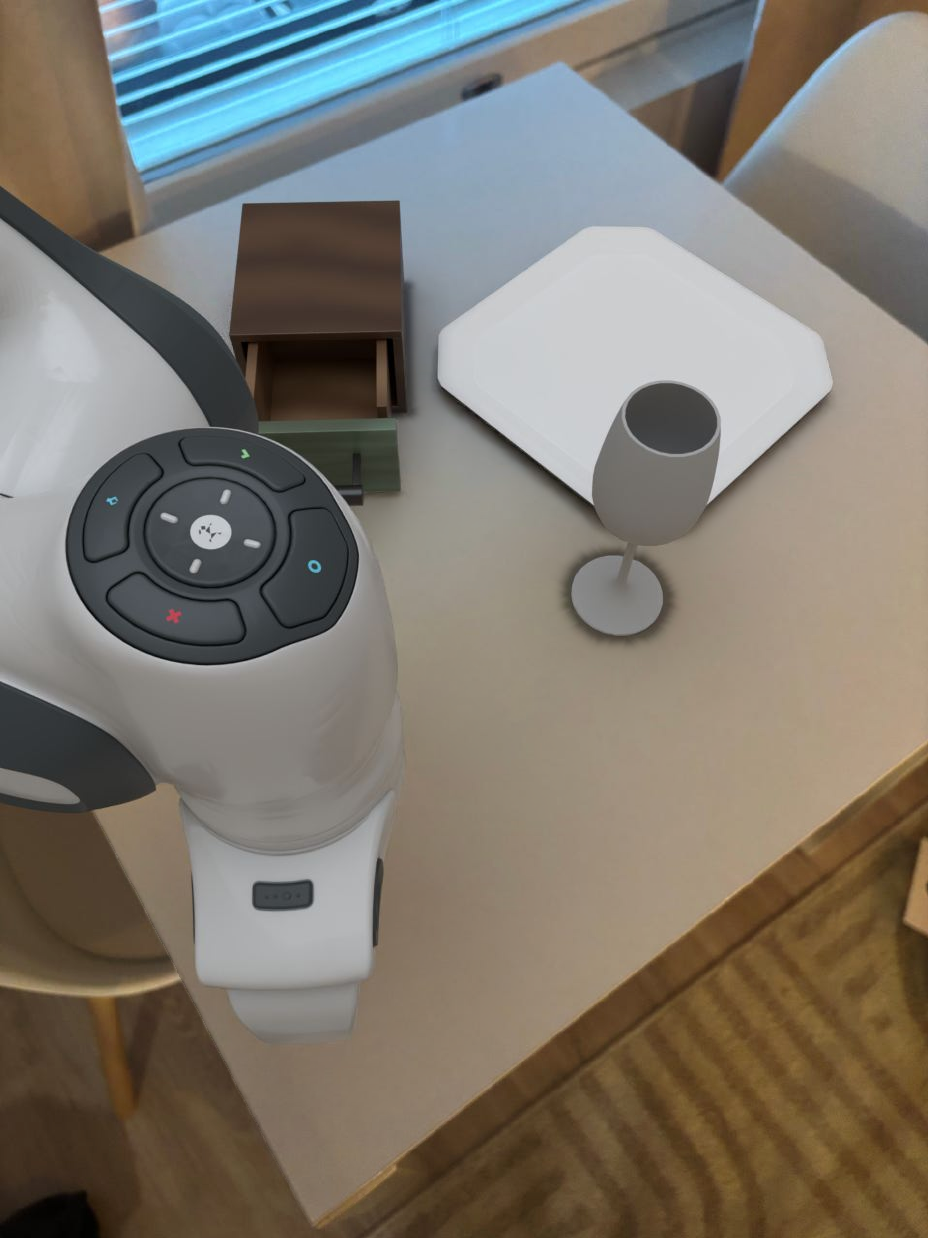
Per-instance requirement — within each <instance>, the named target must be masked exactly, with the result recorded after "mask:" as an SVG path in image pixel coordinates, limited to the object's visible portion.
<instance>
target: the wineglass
mask: <svg viewBox="0 0 928 1238" xmlns="http://www.w3.org/2000/svg"><path fill="white" fill-rule="evenodd" d="M720 438H721V417H720V414H719V411H718V408H717V407H716V405H715V404H714V402H713V401H712V400H711V399H710V398H709V397H708V396H707V395H706V394H705V393H704V392H702V391H700V390H699V389H697V388H695V387H693V386H691V385H688V384H686V383H682V382H677V381H670V380H660V381H655V382H649V383H647V384H644V385H642V386H640V387H638V388H637V389H635V390H634V391H633V392H631V393H630V395H629V396H628V397H627V399H626V400H625V401H624V403H623V404H622V406H621V408H620V409H619V411H618V413H617V415H616V417H615V419H614V421H613V423H612V425H611V427H610V429H609V431H608V434H607V436H606V438H605V441H604V443H603V446H602V448H601V451H600V453H599V456H598V459H597V461H596V464H595V467H594V472H593V481H592V499H593V503H594V507H595V508H594V507H593V508H594V509H595V512H596V513H597V516H598V517H599V520H600V521H601V523H602V525H603V526H604V527H605V528H606V529H607V531H609V533H610V534H612V535H614V536H615V537H616V538H617V539H619V540H621V541H624V542H626V547H625V550H624V554H623V555H604V556H600V557H597V558H594V559H592V560H590V561H588V562H587V563H585V564H584V565H583V566H582V567H580V568H579V570H578V571H577V573H576V574H575V576H574V578H573V581H572V584H571V593H570V597H571V601H572V605H573V608H574V610H575V612H576V614H577V615H578V616H579V618H580V619H581V620H582V621H583V622H584V623H585V624H586V625H587V626H589V627H590V628H591V629H593V630H595V631H598V632H599V633H602V634H605V635H610V636H614V637H627V636H631V635H637V634H639V633H642V632H643V631H645V630H647V629H648V628H649V627H650V626H652V625H653V624H654V623H655V622H656V620H657V619H658V617H659V615H660V613H661V611H662V608H663V605H664V592H663V589H662V585H661V583H660V581H659V579H658V578H657V576H656V575H655V573H654V572H653V571H652V570H651V569H650V568H649V567H647V566H646V565H645V564H643V563H642V562H641V561H639V560H636V559H634V557H635V554H636V551H637V548H638V546H641V547H658V546H663V545H668V544H669V543H671V542H673V541H676V540H678V539H679V538H681V537H683V536H684V535H685V534H687V533H688V532H689V531H690V530H691V529H693V528H694V526H695V525H696V523H697V522H698V521H699V519H700V518H701V517H702V514H703V512H705V509H706V508H707V506H706V505H707V503H708V500H709V497H710V494H711V490H712V486H713V482H714V478H715V473H716V468H717V463H718V457H719V449H720Z"/></svg>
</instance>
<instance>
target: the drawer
mask: <svg viewBox="0 0 928 1238" xmlns="http://www.w3.org/2000/svg"><path fill="white" fill-rule="evenodd" d="M245 379H246V381H247V384H248V386H249V389H250V391H251V394H252V397H253V399H254V402H255V406H256V410H257V415H258V421H259V433H258V435H260V436H263V437H266V438H268V439H271V440H273V441H276V442H278V443H280V444H282V445H284V446H286V447H287V448H289V449H291V450H293V451H294V452H296V453H297V454H299V455H300V456H302V457H303V458H304V459H306V460H307V461H308V462H309V463H311V464H312V465H313V466H314V467H315V468H316V469H317V470H318V471H320V472H321V473H322V474H323V475H324V476H325V478H326V479H327V480H328V481H329V482H330V483H331V484H332V485H333V486H334V487H335V489H336V490H337V491H338V492H339V493H340V495H341V496H342V497H343V498H344V500H345V501H346V502H347V504H348V505H349V507H363V506H365V505H364V504H365V493H392V492H393V493H395V492H397V493H398V492H402V477H401V465H400V464H401V463H400V451H399V450H400V449H399V439H398V437H399V436H398V425H397V418H396V417H393V416H392V414H393V413H392V409H391V352H390V339H389V338H388V339H345V340H302V341H260V342H248V354H247V365H246V376H245Z"/></svg>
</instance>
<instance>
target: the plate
mask: <svg viewBox="0 0 928 1238" xmlns="http://www.w3.org/2000/svg"><path fill="white" fill-rule="evenodd" d="M829 363H830V362H829V359H828V356H827V352H826V347H825V343H824V339H823V338H822V337H821V336H820V335H819V334H818V332H816V331H815V330H814V329H812V328H810V327H809V326H807V325H806V324H803V323H802V322H801V321H799V320H797V319H796V318H794V317H793V316H791V315H789V314H788V313H786V312H785V311H783V310H781V309H780V308H778V307H777V306H775V305H774V304H773V303H771V302H769V301H767V300H766V299H764V298H763V297H761V296H760V295H758V294H757V293H755V292H753V291H752V290H750V289H748V288H747V287H745V286H743V285H742V284H740V283H739V282H738V281H736V280H734V279H733V278H731V277H730V276H728V275H727V274H725V273H723V272H722V271H721V270H719V269H717V268H715V267H714V266H712V265H711V264H709V263H707V262H706V261H705V260H703V259H701V258H700V257H698V256H696V255H695V254H694V253H691V252H690V251H688V250H687V249H686V248H684V247H683V246H681V245H679V244H677V243H676V242H674V241H673V240H672V239H670V238H668V237H666V236H665V235H664V234H661V233H660V232H659V231H657V230H655V229H654V228H651V227H647V226H609V225H608V226H602V225H592V226H589V227H585V228H583V229H581V230H580V231H578V232H577V233H576V234H574V235H573V236H571V237H570V238H568V239H567V240H566V241H564V242H563V243H561V244H560V245H558V246H557V247H555V248H554V249H553V250H552V251H549V252H548V253H547V254H546V255H545V256H543V257H542V258H540V259H538V260H537V261H536V262H535V263H533V264H532V265H531V266H529V267H527V268H526V269H525V270H523V271H522V272H520V273H518V274H517V275H516V276H514V277H513V278H511V280H509V281H507V282H506V283H505V284H503V285H502V286H501V287H499V288H498V289H496V290H495V291H493V292H491V294H489V295H488V296H487V297H485V298H484V299H482V300H481V301H479V302H478V303H477V304H475V305H474V306H472V307H471V308H470V309H468V310H467V311H465V312H464V313H463V314H461V315H459V316H458V317H457V318H456V319H454V320H452V321H451V322H450V323H448V324H447V325H445V326H444V327H443V328H442V329H440V332H439V334H438V335H437V364H436V365H437V366H436V368H437V370H436V381H437V383H438V385H439V386H440V388H441V390H443V391H444V392H445V393H447V394H448V395H449V396H450V397H452V398H453V399H454V400H455V401H456V402H458V403H460V404H461V405H462V406H464V407H465V408H466V409H467V410H469V411H470V412H471V413H472V414H474V415H475V416H476V417H477V418H478V419H480V420H481V421H483V422H484V423H485V424H487V425H488V427H490V428H492V430H494V431H495V432H496V433H498V434H499V435H500V436H502V437H503V438H504V439H505V440H507V441H508V443H509V442H510V443H511V444H512V445H513V446H514V447H516V448H517V449H518V450H519V451H521V452H522V453H524V455H526V456H528V458H530V459H531V460H533V462H535V464H538V465H539V466H540V467H541V468H542V469H544V470H545V471H546V472H548V473H549V474H550V475H552V477H554V478H555V479H556V480H558V481H559V482H560V483H561V484H563V485H564V486H566V487H567V488H568V489H569V490H570V491H572V492H573V493H574V494H576V495H577V496H578V497H579V498H581V499H582V500H583V501H584V502H586V503H587V504H588V505H590V506H591V507H592V508H593V509H595V507H594V503H593V499H592V481H593V472H594V467H595V464H596V461H597V459H598V456H599V453H600V451H601V448H602V446H603V443H604V441H605V438H606V436H607V434H608V431H609V429H610V427H611V425H612V423H613V421H614V419H615V417H616V415H617V413H618V411H619V409H620V408H621V406H622V404H623V403H624V401H625V400H626V399H627V397H628V396H629V395H630V393H631V392H633V391H634V390H635V389H637V388H638V387H640V386H642V385H644V384H647V383H649V382H655V381H660V380H670V381H677V382H682V383H686V384H688V385H691V386H693V387H695V388H697V389H699V390H700V391H702V392H704V393H705V394H706V395H707V396H708V397H709V398H710V399H711V400H712V401H713V402H714V404H715V405H716V407H717V408H718V411H719V414H720V417H721V438H720V449H719V457H718V463H717V468H716V473H715V478H714V482H713V486H712V490H711V494H710V497H709V500H708V503H707V505H706V507H708V506H709V505H710V504H711V503H712V502H713V501H715V500H716V499H717V497H719V496H720V495H721V494H722V493H723V492H724V491H725V490H727V488H728V487H729V486H731V485H732V483H734V482H735V481H736V480H737V479H738V478H739V477H740V476H742V474H743V473H745V472H746V471H747V470H748V469H749V468H750V467H751V466H752V465H753V464H754V463H756V462H757V461H758V460H759V459H760V458H761V457H762V456H763V455H764V454H765V453H766V452H767V451H768V450H770V449H771V448H772V447H773V446H774V445H775V444H776V443H777V442H778V441H780V439H782V438H783V437H784V436H785V435H786V434H787V433H788V432H789V431H790V430H792V428H794V426H796V425H797V424H798V423H799V422H800V421H801V420H802V419H803V418H805V416H806V415H807V414H808V413H810V412H811V411H812V410H813V409H814V408H815V407H816V406H817V405H818V404H819V403H821V401H823V400H824V399H825V398H826V397H827V396H828V395H830V393H831V392H832V389H833V386H834V381H833V376H832V373H831V368H830V364H829Z"/></svg>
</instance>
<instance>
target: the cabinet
mask: <svg viewBox="0 0 928 1238" xmlns="http://www.w3.org/2000/svg"><path fill="white" fill-rule="evenodd" d="M239 223H240V225H239V234H238V242H237V254H236V262H235V272H234V273H235V274H234V284H233V291H232V292H233V294H232V303H231V310H230V311H231V312H230V322H229V332H228V337H229V340H230V344H231V348H232V351H233V355H234V357H235V359H236V361H237V362H238V364H239V366H240V368H241V371H242V373H243V375H244V377H245V376H246V365H247V354H248V342H260V341H302V340H345V339H388V338H389V339H390V352H391V409H392V414H394V413H395V414H396V413H397V414H399V413H407V412H408V396H407V395H408V394H407V393H408V389H407V347H406V345H407V343H406V341H407V339H406V297H405V296H406V295H405V290H406V289H405V273H404V271H405V269H404V253H403V252H404V251H403V235H402V215H401V201H400V199H399V200H398V199H397V200H350V201H349V200H348V201H346V200H345V201H344V200H343V201H299V202H297V201H296V202H295V201H291V202H290V201H289V202H246V203H245V202H244V203H242V206H241V215H240V222H239Z"/></svg>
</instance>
